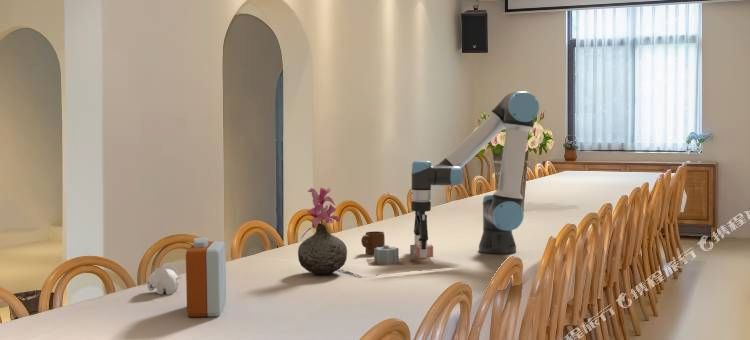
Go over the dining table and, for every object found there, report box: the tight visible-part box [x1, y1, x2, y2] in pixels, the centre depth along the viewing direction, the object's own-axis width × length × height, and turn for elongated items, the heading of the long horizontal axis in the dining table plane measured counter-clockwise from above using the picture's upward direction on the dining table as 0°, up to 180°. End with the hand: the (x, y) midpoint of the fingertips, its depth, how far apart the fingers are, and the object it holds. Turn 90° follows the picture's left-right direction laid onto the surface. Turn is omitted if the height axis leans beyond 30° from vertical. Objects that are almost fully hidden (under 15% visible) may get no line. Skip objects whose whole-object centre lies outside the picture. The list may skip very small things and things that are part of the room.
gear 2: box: [414, 243, 434, 258], centre depth 307 cm, size 9×9×5 cm
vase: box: [297, 187, 348, 277], centre depth 275 cm, size 17×17×30 cm
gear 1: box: [373, 246, 400, 264], centre depth 293 cm, size 9×9×5 cm
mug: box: [361, 230, 386, 256], centre depth 312 cm, size 12×8×9 cm, turn 143°
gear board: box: [365, 244, 435, 267], centre depth 294 cm, size 24×14×7 cm, turn 95°
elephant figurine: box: [142, 261, 182, 295], centre depth 247 cm, size 10×12×9 cm
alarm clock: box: [185, 237, 227, 318], centre depth 222 cm, size 18×9×21 cm, turn 5°
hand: (420, 255), depth 308 cm, fingers open, 13 cm apart
